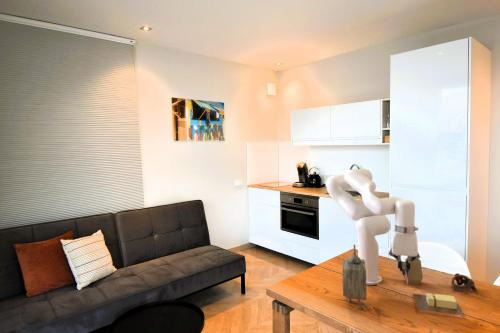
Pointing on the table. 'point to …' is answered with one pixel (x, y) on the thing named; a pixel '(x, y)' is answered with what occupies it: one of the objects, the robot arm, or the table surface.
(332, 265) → the table surface
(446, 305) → the butter
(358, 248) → the robot arm
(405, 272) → the knife
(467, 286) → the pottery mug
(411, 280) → the squeeze bottle
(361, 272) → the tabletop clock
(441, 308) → the cutting board
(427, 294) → the butter slice
